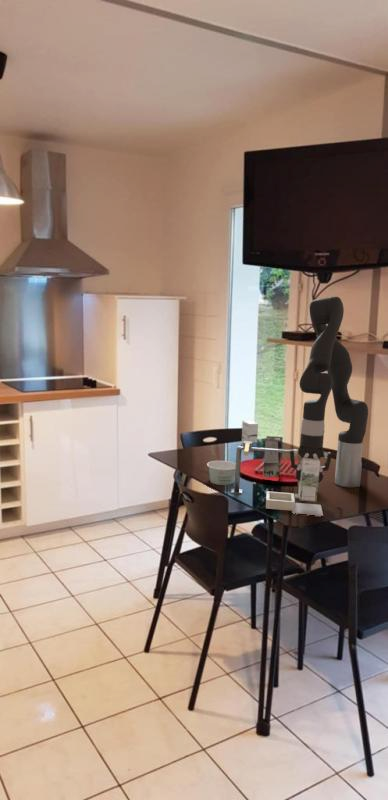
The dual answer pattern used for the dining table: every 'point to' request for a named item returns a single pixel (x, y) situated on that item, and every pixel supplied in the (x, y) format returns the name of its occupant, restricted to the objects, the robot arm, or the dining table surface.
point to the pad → (307, 509)
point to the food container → (221, 472)
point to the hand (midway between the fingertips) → (308, 481)
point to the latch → (247, 447)
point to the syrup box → (309, 480)
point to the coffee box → (272, 457)
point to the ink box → (249, 432)
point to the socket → (280, 500)
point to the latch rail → (238, 466)
